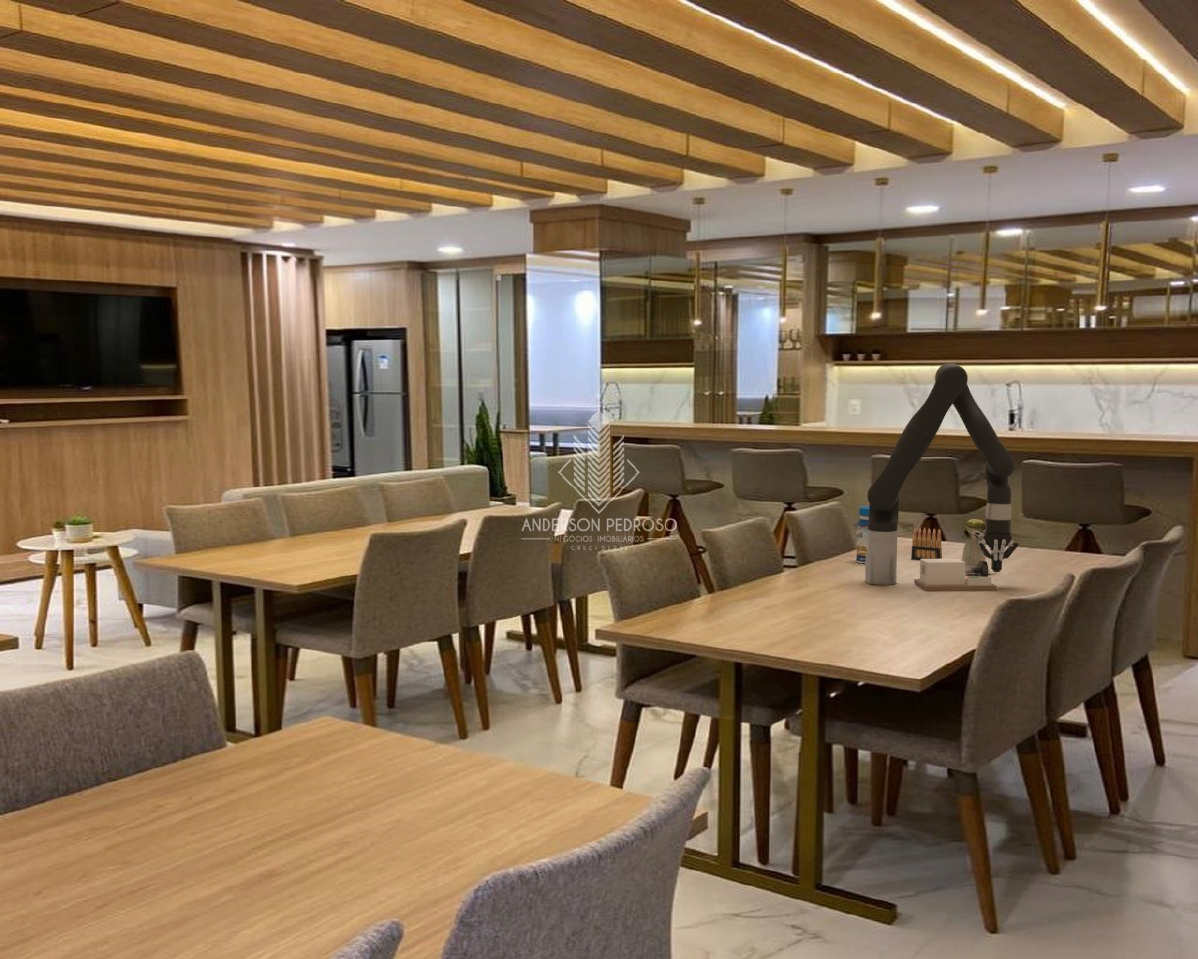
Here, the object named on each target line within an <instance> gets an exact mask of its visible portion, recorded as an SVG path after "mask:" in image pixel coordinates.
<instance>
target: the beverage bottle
mask: <svg viewBox="0 0 1198 959" xmlns="http://www.w3.org/2000/svg"><path fill="white" fill-rule="evenodd" d="M858 516H859V519H858V521H857V524H856V528H857V530H856V533H855V535H856V557H855V559H856V563H859V564H862V563H866V552H867V551H868V519H869V506H866V505H865V506H859V507H858Z"/></svg>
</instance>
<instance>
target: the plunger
mask: <svg viewBox="0 0 1198 959" xmlns="http://www.w3.org/2000/svg"><path fill="white" fill-rule="evenodd" d="M988 568H989V564H988V562H987V561H986V560H985V561H979V562H978V566H965V574H967V575H975V574H977V576H979V577H989V576H991V574H990V573H988Z"/></svg>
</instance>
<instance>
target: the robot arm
mask: <svg viewBox="0 0 1198 959" xmlns="http://www.w3.org/2000/svg"><path fill="white" fill-rule="evenodd" d="M968 378H969V376H968V373H967V371H966V370H965V368H964V367H962V366H961V365H959V364H957V363H952V362H951V363H950V362H947V363H944V364H941V366H939V368H938V369H937V370H936V373H935V375H934V381H935V382H934V384H933V387H932V389H931V390H930V393H929V395H928V396H927V398H926V400H925V401H924V403H923V404H922V406H920V408H919V409H918V410H917V411H916V412H915V413H914V415H913V416H912V417H911V419H910V420H909V421H908V423H907V424H906V425H905V427H904V429H903V430H902V433H901V434H900V436H899V438H898V440H897V442H896V443H895V446H894V447H893V450H892V451H891V454H890V457H889V459H888V461H887V463H886V465H885V466H884V468H883V470H882V471H881V473H879V475H878V477H877V478H876V479H875V480H874V482H873V483H872V484H871V486H870V487H869V488H868V491H867V501H868V503H869V504H868V505H869V519H868V551H867V552H866V564H865V570H864V572H865V573H864V576H865V577H864V579H865V582H866V583H868V584H869V585H878V586H879V585H880V586H882V585H884V586H887V585H888V586H889V585H891V586H892V585H896V584H897V575H898V574H897V570H898V569H897V568H898V566H897V564H898V562H897V561H898V558H897V557H898V527H899V526H898V525H899V524H898V523H899V510H900V507H899V506H900V491H901V489H902V487H903V485H904V483H905V481H906V479H907V478H908V476H909V474H910V473H911V472H912V471H913V469H914V468H915V467H916V466H917V465H918V463H919V462H920V461H921V460H922V458H923V457H924V455H925V454H926V452H928V451H927V450H928V449H929V447H930V445H931V443H932V442H933V440H934V439H935V436H936V435H937V433H938V432H939V429H940V427H941V426H942V424H943V421H944V419H945V417H946V415H947V413H948V411H949V409H950V408H951V407H952V406H953V407H954V408H955V410H956V411H957V414H958V415H959V417H960V419H961V421H962V423H963V425H964V427H965V429H966V431H967V433H968V435H969V437H970V439H971V440H972V442H973V445H974V446H975V447H976V449H977V450H978V451H979V452H980V453H981V454H982V455H983V456H984V458H985V460H986V461H985V479H986V484H987V493H986V494H987V495H986V507H985V515H984V516H985V522H984V523H985V535H984V536H983V539H981V541H980V542H977V546H978V547H979V548H980V550H981V551H982V552H983V554H984V555H985V556H986V557H985V558H986V559H990V561H991V562H990V564H991V566H990V569H992V570H993V571H994V572H995V573H1000V572H1001V571H1002V569H1003V560H1005V559H1006V560H1007V559H1009V557H1011V555H1012V554H1013V553H1014V552H1015V551H1016V549H1017V548H1018V547H1019V543H1018V542H1016V541H1015V540H1013V537H1012V535H1011V534H1012V532H1011V531H1012V504H1011V503H1012V488H1011V486H1010V485H1009V478H1008V477H1009V476H1011V475H1012V474H1013V473H1014V471H1015V466H1016V465H1015V462H1014V459H1013V457H1012V456H1011V453H1009V451H1008V450H1007V448H1006V447H1005V446H1004V444H1003V443H1002V442H1001V440H1000V439H999V437H998V435H997V433H996V431H995V429H994V428H993V426H992V424H991V423H990V421H989V419H988V418H987V417H986V414H984V412H983V410H982V409H981V407H980V406H979V405H978V403H977V401H976V400H975V399H974V396H973V395H972V392H971V390H970V387H969V386H968V380H969V379H968ZM1007 546H1008V547H1007ZM987 547H988V548H989V550H988V549H987Z"/></svg>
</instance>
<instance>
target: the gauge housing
mask: <svg viewBox="0 0 1198 959" xmlns="http://www.w3.org/2000/svg"><path fill="white" fill-rule="evenodd" d="M913 581H914V585H916V586H917V587H918V588H920V589H922V590H923V591H925V592H967V591H968V592H981V591H982V592H984V591H985V592H992V591H993V592H995V591H997V587H998V586H997V585H996V584H994V583H992V577H991V576H988V577H979V576H978V575H967V576H966V575H965V562H964V561H962V559H959V558H942V559H920V562H919V578H914V579H913Z"/></svg>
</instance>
